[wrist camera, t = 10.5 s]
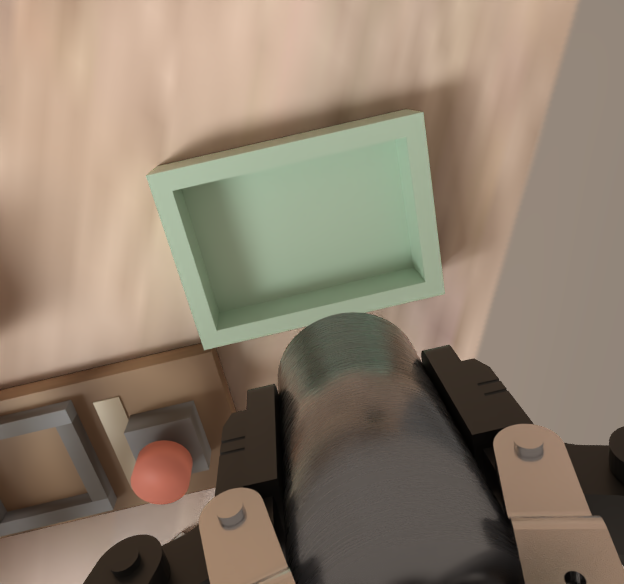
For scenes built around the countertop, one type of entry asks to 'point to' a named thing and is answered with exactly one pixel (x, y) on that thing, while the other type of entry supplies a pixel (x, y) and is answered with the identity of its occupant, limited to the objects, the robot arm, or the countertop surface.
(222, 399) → the bulb tester base
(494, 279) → the countertop surface
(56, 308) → the countertop surface
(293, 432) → the grey cell
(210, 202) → the green trough
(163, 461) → the button
